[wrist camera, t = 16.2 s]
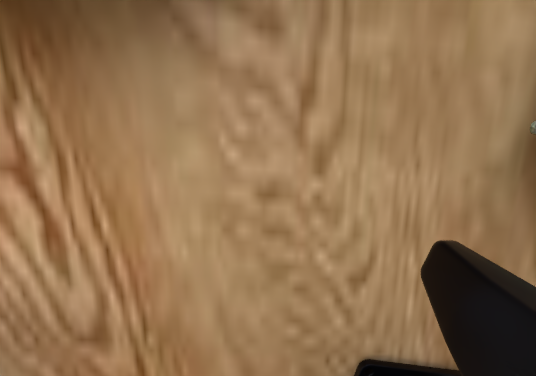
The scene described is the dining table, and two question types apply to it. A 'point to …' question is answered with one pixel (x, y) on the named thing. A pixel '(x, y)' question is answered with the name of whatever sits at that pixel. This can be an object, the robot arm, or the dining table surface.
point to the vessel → (533, 127)
